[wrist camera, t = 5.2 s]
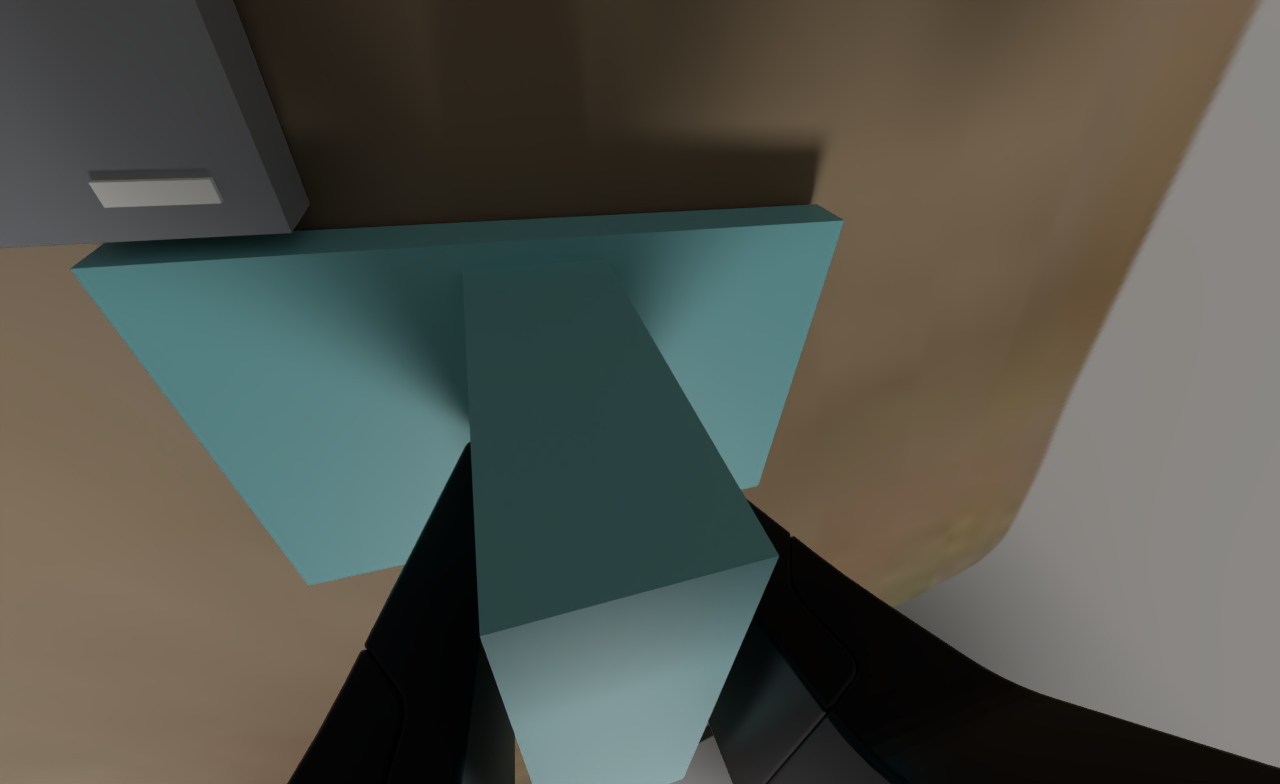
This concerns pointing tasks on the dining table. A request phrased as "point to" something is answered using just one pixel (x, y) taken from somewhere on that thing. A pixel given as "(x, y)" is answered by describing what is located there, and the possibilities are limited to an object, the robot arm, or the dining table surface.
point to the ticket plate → (137, 125)
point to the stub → (510, 432)
